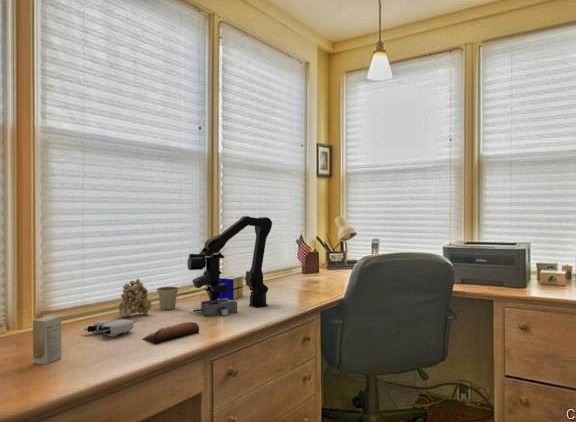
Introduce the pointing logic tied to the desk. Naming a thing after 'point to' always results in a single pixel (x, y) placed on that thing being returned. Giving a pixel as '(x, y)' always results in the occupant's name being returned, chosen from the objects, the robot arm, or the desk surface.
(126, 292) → the mineral formation
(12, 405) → the desk surface
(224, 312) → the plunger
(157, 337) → the brown elongated rounded piece
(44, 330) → the skincare box
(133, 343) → the desk surface
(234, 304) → the gauge housing
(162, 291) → the flower pot
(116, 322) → the robot toy
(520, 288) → the desk surface
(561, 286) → the desk surface
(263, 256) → the robot arm
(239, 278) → the puzzle cube
